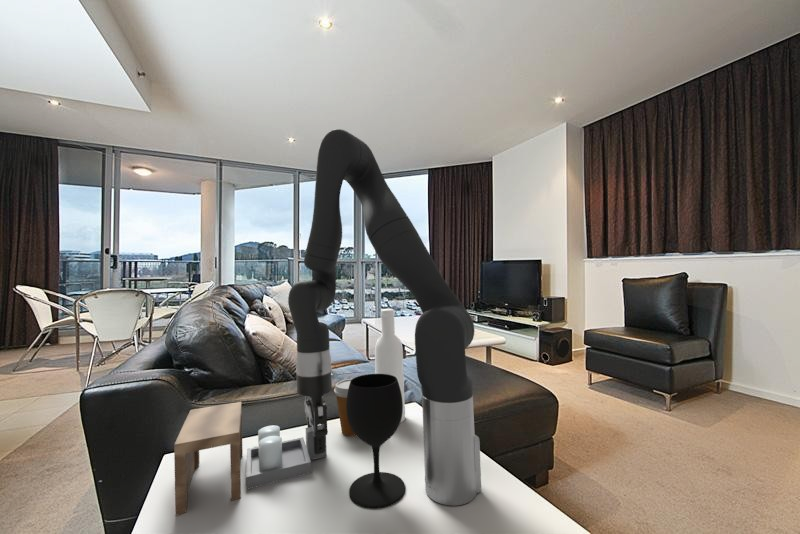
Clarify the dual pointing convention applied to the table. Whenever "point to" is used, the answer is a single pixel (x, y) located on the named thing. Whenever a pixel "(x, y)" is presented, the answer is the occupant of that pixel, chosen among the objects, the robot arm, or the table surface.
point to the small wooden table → (207, 446)
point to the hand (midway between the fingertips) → (316, 444)
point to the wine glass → (375, 435)
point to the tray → (289, 461)
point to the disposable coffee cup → (343, 405)
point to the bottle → (390, 352)
